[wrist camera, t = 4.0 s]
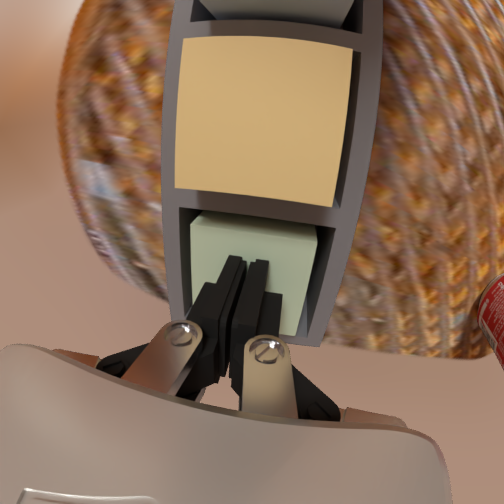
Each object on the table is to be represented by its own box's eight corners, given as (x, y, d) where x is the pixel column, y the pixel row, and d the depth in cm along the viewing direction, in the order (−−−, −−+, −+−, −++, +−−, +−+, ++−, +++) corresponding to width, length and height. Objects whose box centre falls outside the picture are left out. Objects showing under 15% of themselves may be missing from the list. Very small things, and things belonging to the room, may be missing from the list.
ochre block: (331, 75, 10) (352, 49, 6) (318, 175, 12) (331, 207, 8) (223, 65, 11) (183, 38, 6) (215, 162, 13) (174, 187, 8)
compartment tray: (354, -18, 9) (376, -66, 4) (315, 284, 19) (319, 347, 13) (224, -29, 10) (194, -76, 4) (203, 267, 19) (171, 322, 14)
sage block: (310, 203, 15) (317, 242, 10) (296, 279, 17) (294, 336, 13) (221, 191, 15) (190, 224, 11) (218, 268, 17) (193, 319, 13)
